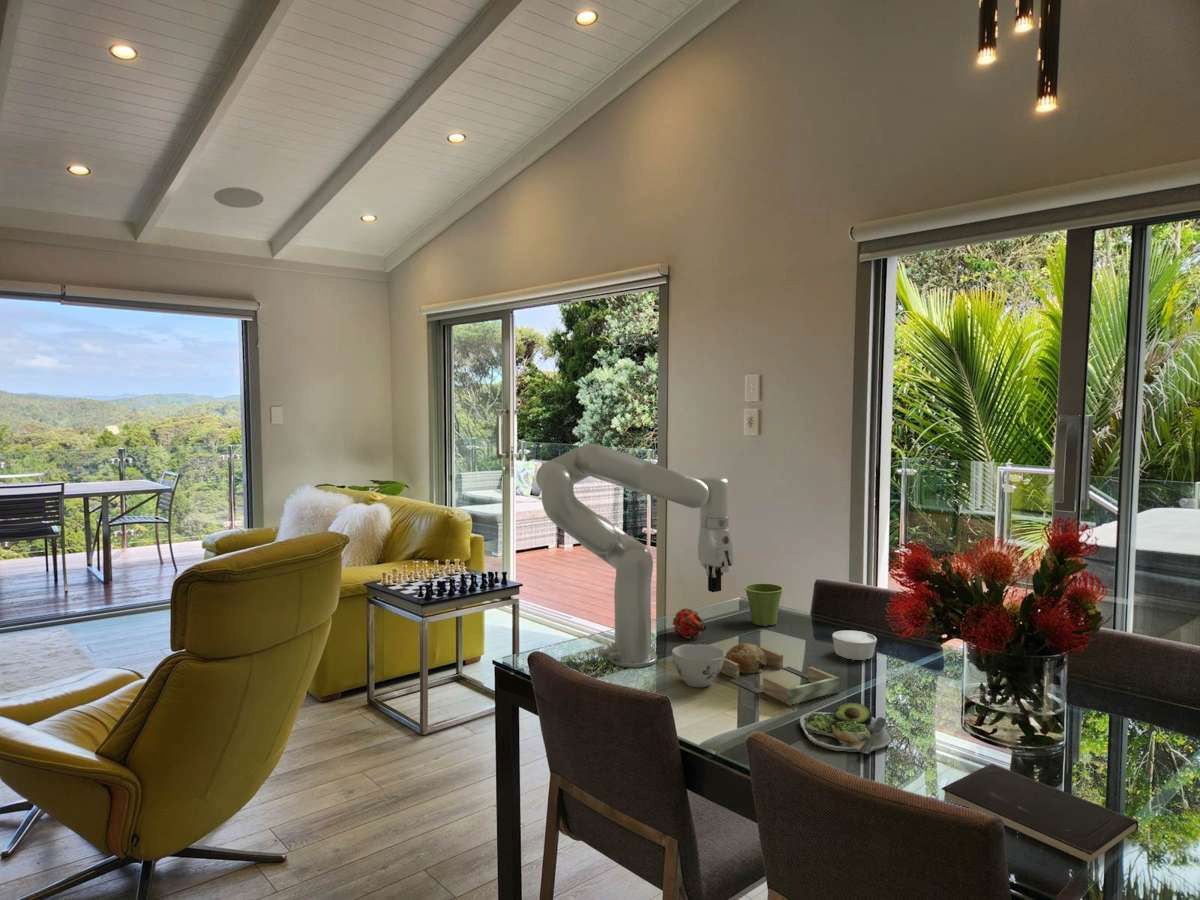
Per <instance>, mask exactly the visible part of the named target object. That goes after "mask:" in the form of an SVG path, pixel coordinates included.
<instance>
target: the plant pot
mask: <svg viewBox="0 0 1200 900" xmlns="http://www.w3.org/2000/svg"><path fill="white" fill-rule="evenodd" d="M743 589H744V590H745V593H746V597H747V600H748V605H749V611H750V618H751V623H752V622H753V623H754V624H757V625H759V626H762V625H764V626H763V627H765V626H766V625H773V626H775V625H776V624H777V623H778V622H777V621H778V615H779V607H780V602H781V597H782V593H783V591H784V589H785V588H784V587H783V586H782V585H779V584H776V583H766V582H765V583H762V582H761V583H759V582H758V583H750V584H746V585H744V586H743ZM753 623H752V624H753ZM754 624H753V625H754ZM774 624H775V625H774ZM757 625H756V626H757Z"/></svg>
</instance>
